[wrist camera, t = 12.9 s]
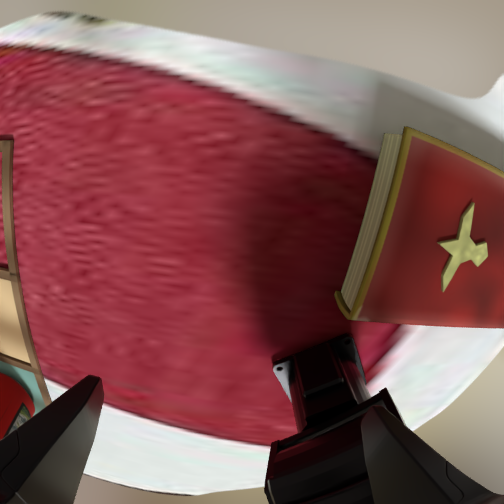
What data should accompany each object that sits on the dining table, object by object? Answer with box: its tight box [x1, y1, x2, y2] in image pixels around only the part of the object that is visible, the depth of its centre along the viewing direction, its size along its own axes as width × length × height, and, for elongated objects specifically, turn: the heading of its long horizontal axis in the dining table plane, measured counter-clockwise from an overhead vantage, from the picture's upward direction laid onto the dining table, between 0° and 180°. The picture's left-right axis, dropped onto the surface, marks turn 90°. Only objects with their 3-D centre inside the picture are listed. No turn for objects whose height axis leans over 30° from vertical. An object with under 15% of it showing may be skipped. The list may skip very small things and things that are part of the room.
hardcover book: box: [334, 127, 504, 328], centre depth 19 cm, size 12×21×4 cm, turn 79°
